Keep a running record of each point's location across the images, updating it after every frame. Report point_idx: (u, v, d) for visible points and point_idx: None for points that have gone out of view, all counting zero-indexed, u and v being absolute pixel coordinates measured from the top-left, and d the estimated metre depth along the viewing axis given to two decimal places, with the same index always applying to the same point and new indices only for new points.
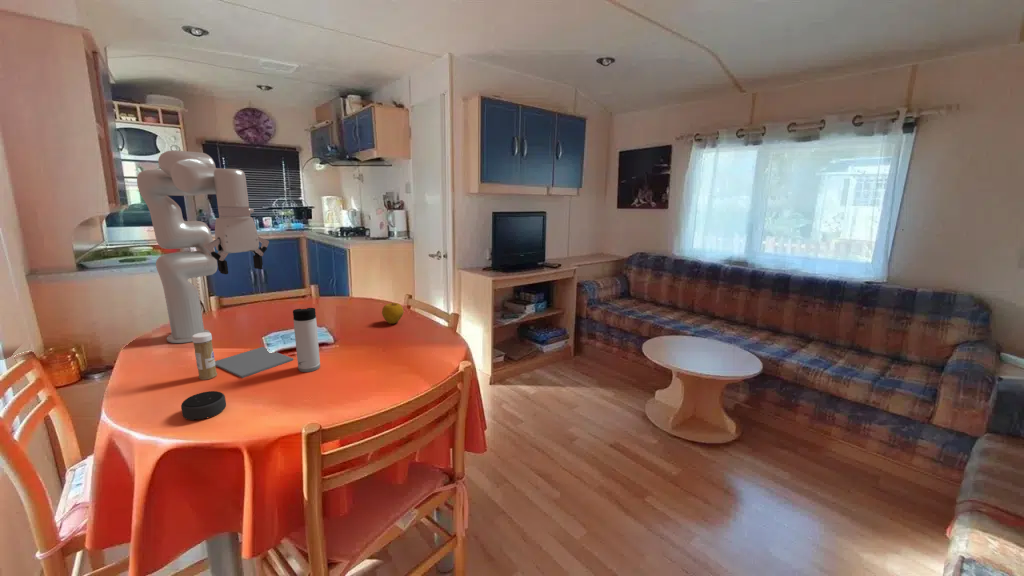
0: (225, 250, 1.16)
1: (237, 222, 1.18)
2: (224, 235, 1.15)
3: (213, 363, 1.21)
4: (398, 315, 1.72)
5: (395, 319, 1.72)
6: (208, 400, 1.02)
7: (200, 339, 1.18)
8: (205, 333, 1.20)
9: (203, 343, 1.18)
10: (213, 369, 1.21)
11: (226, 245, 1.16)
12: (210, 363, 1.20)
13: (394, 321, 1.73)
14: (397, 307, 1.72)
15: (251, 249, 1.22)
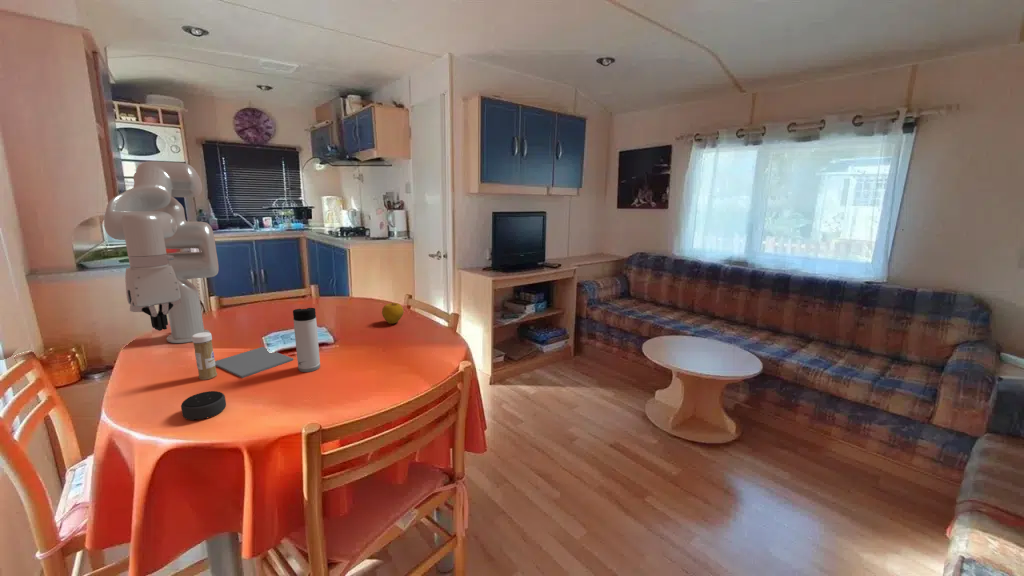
0: (136, 304, 1.04)
1: (151, 272, 1.05)
2: (134, 288, 1.03)
3: (213, 363, 1.21)
4: (398, 315, 1.72)
5: (395, 319, 1.72)
6: (208, 400, 1.02)
7: (200, 339, 1.18)
8: (205, 333, 1.20)
9: (203, 343, 1.18)
10: (213, 369, 1.21)
11: (137, 299, 1.04)
12: (210, 363, 1.20)
13: (394, 321, 1.73)
14: (397, 307, 1.72)
15: (170, 300, 1.10)
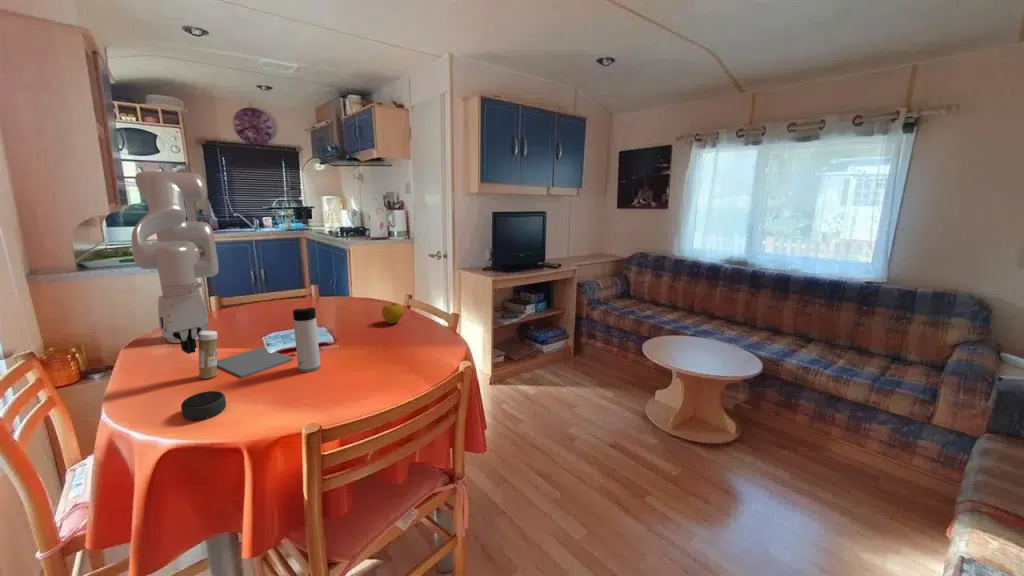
0: (168, 330, 1.11)
1: (182, 300, 1.12)
2: (167, 315, 1.10)
3: (215, 362, 1.22)
4: (398, 315, 1.72)
5: (395, 319, 1.72)
6: (208, 400, 1.02)
7: (206, 337, 1.19)
8: (211, 331, 1.21)
9: (209, 341, 1.19)
10: (214, 368, 1.22)
11: (169, 325, 1.11)
12: (212, 361, 1.21)
13: (394, 321, 1.73)
14: (397, 307, 1.72)
15: (198, 325, 1.17)
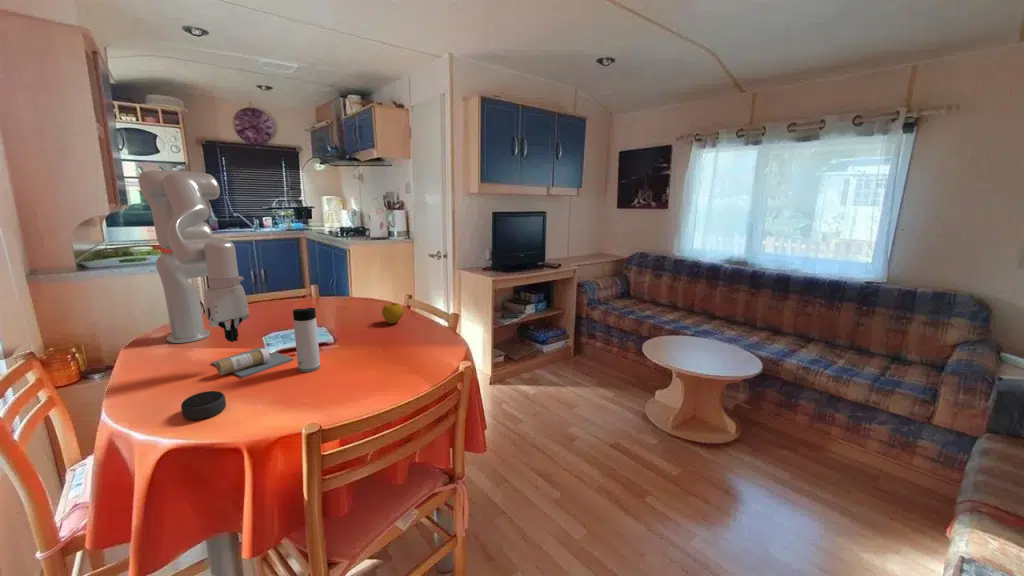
0: (215, 320, 1.20)
1: (227, 292, 1.21)
2: (214, 306, 1.19)
3: None
4: (398, 315, 1.72)
5: (395, 319, 1.72)
6: (208, 400, 1.02)
7: (266, 361, 1.31)
8: None
9: None
10: None
11: (216, 315, 1.20)
12: None
13: (394, 321, 1.73)
14: (397, 307, 1.72)
15: (241, 316, 1.26)
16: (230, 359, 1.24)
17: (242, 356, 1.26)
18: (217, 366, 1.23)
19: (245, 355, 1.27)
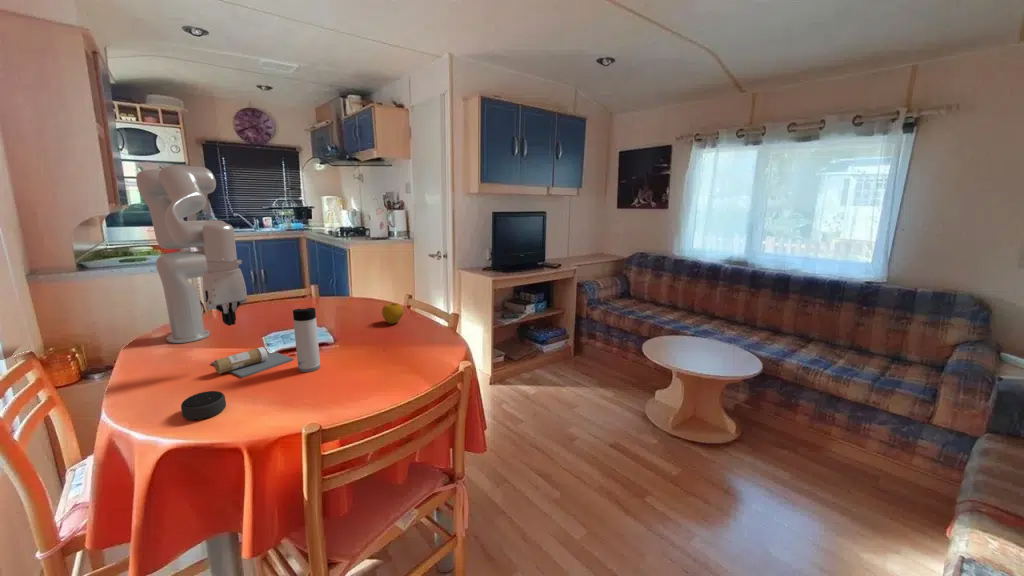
0: (212, 303, 1.20)
1: (225, 275, 1.21)
2: (212, 289, 1.19)
3: None
4: (398, 315, 1.72)
5: (395, 319, 1.72)
6: (207, 400, 1.02)
7: (264, 356, 1.31)
8: None
9: (260, 359, 1.31)
10: (229, 370, 1.25)
11: (213, 298, 1.19)
12: (237, 367, 1.26)
13: (394, 321, 1.73)
14: (397, 307, 1.72)
15: (238, 299, 1.25)
16: (226, 357, 1.25)
17: None
18: (216, 367, 1.24)
19: None
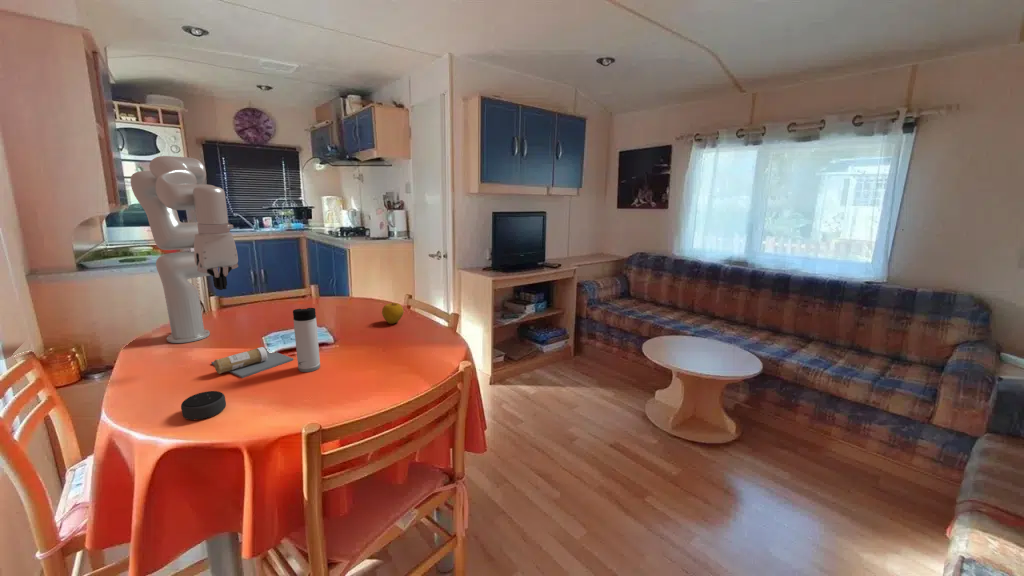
0: (203, 266, 1.20)
1: (216, 238, 1.21)
2: (203, 251, 1.19)
3: (235, 368, 1.26)
4: (398, 315, 1.72)
5: (395, 319, 1.72)
6: (207, 400, 1.02)
7: (264, 356, 1.31)
8: None
9: (260, 358, 1.31)
10: (229, 370, 1.25)
11: (204, 261, 1.19)
12: (237, 367, 1.26)
13: (394, 321, 1.73)
14: (397, 307, 1.72)
15: (230, 264, 1.26)
16: (226, 357, 1.25)
17: None
18: (216, 367, 1.24)
19: None
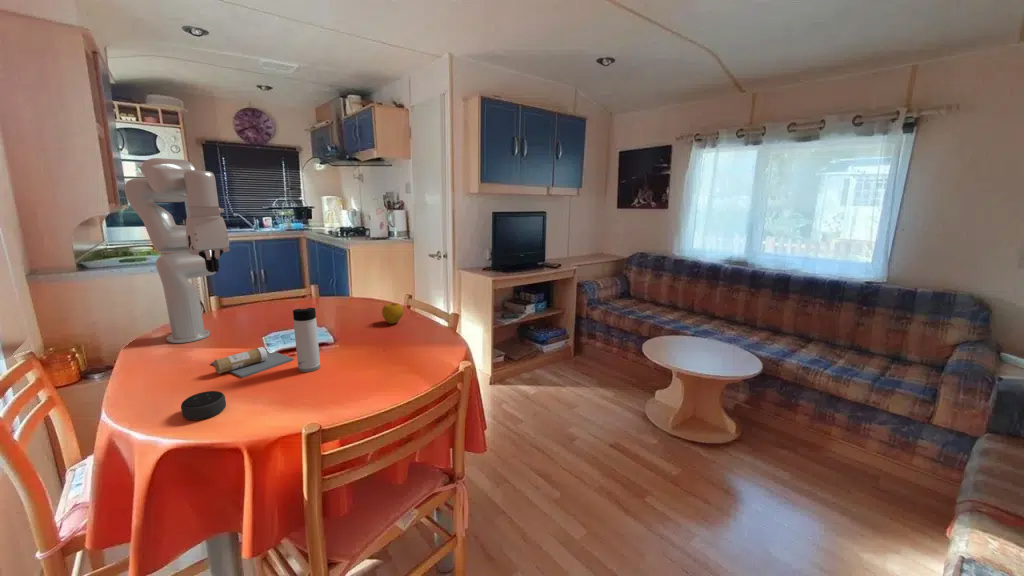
0: (195, 248, 1.23)
1: (207, 221, 1.24)
2: (194, 233, 1.22)
3: (235, 368, 1.26)
4: (398, 315, 1.72)
5: (395, 319, 1.72)
6: (207, 400, 1.02)
7: (264, 356, 1.31)
8: None
9: (260, 358, 1.31)
10: (228, 370, 1.25)
11: (196, 243, 1.23)
12: (237, 367, 1.26)
13: (394, 321, 1.73)
14: (397, 307, 1.72)
15: (221, 247, 1.29)
16: (226, 357, 1.26)
17: None
18: (216, 367, 1.24)
19: None
